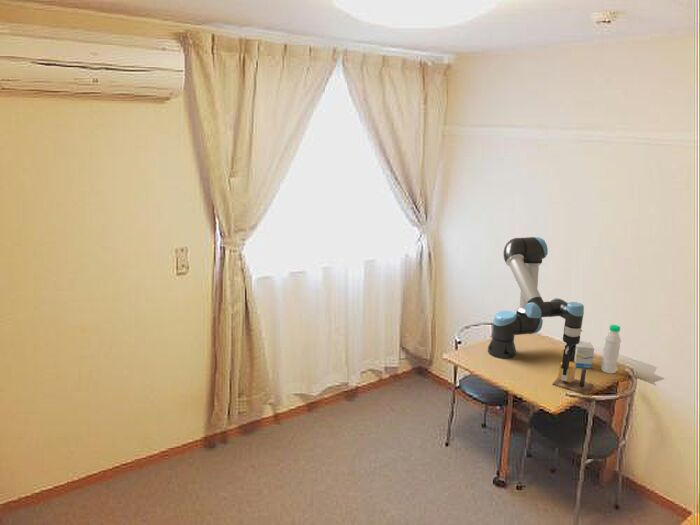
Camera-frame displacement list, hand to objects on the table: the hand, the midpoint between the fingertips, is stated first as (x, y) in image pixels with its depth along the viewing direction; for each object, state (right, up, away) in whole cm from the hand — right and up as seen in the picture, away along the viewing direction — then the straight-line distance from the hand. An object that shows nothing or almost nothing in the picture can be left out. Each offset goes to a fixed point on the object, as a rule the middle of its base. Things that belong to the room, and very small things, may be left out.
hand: (566, 377), depth 256 cm
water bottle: (+28, 0, +14) cm, 31 cm away
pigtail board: (+3, -3, -1) cm, 5 cm away
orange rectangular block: (0, 0, 0) cm, 0 cm away
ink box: (+17, +2, +21) cm, 27 cm away
